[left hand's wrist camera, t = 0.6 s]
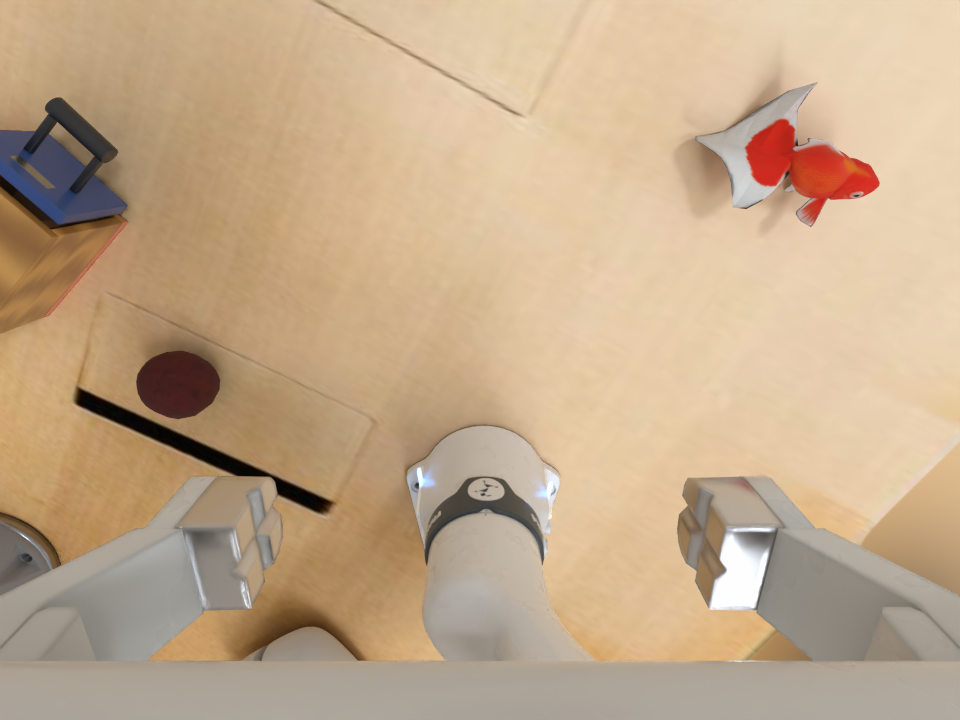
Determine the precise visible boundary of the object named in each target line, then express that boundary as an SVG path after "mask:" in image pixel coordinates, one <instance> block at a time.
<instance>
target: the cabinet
mask: <svg viewBox="0 0 960 720" xmlns="http://www.w3.org/2000/svg"><path fill="white" fill-rule="evenodd" d="M127 223H128V221H126V220H125V219H124V218H123V217H122V216H120V215H119V214H115V215H110V216H104V219H103V220H98V221H93V222H87V223H82V224H77V225H71V226H66V227H61V228H56V229H50V228H49V227H47V226H46V225H45V224H44V223H43V222H41V221H40V220H39V219H38V218H37V217H36V216H34V215H33V214H32V213H31V212H30V211H29V210H27V209H26V208H25V207H24V206H23V205H21V204H20V203H19V202H18V201H17V200H16V199H14V198H13V197H12V196H11V195H10V194H8V193H7V192H6V191H5V190H4V189H3V188H1V187H0V334H1V333H3V332H6V331H8V330H11V329H14V328H16V327H19V326H21V325H24V324H27V323H29V322H32V321H34V320H37V319H40V318H42V317H46V316H48V315H50V314H51V313H52V312H53V310H54V309H55V308H56V307H57V306H58V305H59V303H60V302H61V301H62V300H63V299H64V297H65V296H66V295H67V294H68V293H69V292H70V290H71V289H72V288H73V287H74V286H75V284H76V283H77V282H78V281H79V280H80V279H81V277H82V276H83V275H84V274H85V273H86V271H87V270H88V269H89V268H90V267H91V266H92V264H93V263H94V262H95V261H96V260H97V258H98V257H99V256H100V255H101V254H102V253H103V251H104V250H105V249H106V248H107V247H108V245H109V244H110V243H111V242H112V241H113V240H114V238H115V237H116V236H117V235H118V234H119V232H120V231H121V230H122V229H123V228H124V227H125V225H126V224H127Z"/></svg>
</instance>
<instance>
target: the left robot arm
mask: <svg viewBox="0 0 960 720" xmlns="http://www.w3.org/2000/svg"><path fill="white" fill-rule="evenodd" d="M407 483H408V487H409V491H410V495H411V499H412V503H413V507H414V510H415V514H416V518H417V522H418V526H419V530H420V534H421V537H422V541H423V545H424V549H425V561H426V565H427V572H426V580H425V588H424V596H423V605H422V618H423V623H424V627H425V630H426V632H427V634H428V636H429V638H430V640H431V642H432V643H433V645H434V646H435V648H436V649H437V651H438V652H439V653H440V655H441V656H442V657H443V658H444V659H445V660H446V661H147V660H148V659H149V658H150V657H151V656H153V655H154V654H155V653H156V652H157V651H159V650H160V649H161V648H162V647H163V646H165V645H166V644H167V643H168V642H169V641H171V640H172V639H173V638H174V637H175V636H177V635H178V634H179V633H180V632H181V631H183V630H184V629H185V628H186V627H187V626H189V625H190V624H191V623H192V622H193V621H195V620H196V619H197V618H198V617H199V616H201V615H202V614H203V611H207V610H241V609H251V608H252V606H253V604H254V602H255V600H256V598H257V596H258V594H259V592H260V590H261V588H262V586H263V584H264V582H265V579H264V573H263V571H264V570H265V569H266V568H268V567H269V566H271V565H272V564H274V562H275V560H276V558H277V555H278V553H279V550H280V546H281V541H282V519H281V514H280V513H279V512H278V511H277V510H276V509H275V508H274V507H273V506H272V505H273V503H274V501H275V499H276V498H277V496H278V495H277V490H276V486H275V481H274V480H273V479H272V478H271V477H241V476H220V477H219V476H195V477H191V478H189V479H188V480H187V481H186V482H185V483H184V484H183V486H182V487H181V488H180V489H179V490H178V491H177V492H176V493H175V494H174V496H173V497H172V498H171V499H170V500H169V501H168V502H167V503H166V505H165V506H164V507H163V508H162V509H161V510H160V511H159V512H158V513H157V515H156V516H155V517H154V518H153V519H152V520H151V521H150V522H149V524H148V525H147V526H146V527H145V528H144V529H134V530H132V531H130V532H128V533H126V534H124V535H122V536H120V537H118V538H116V539H114V540H112V541H110V542H108V543H106V544H104V545H102V546H99V547H97V548H95V549H93V550H91V551H89V552H87V553H85V554H83V555H81V556H79V557H77V558H75V559H73V560H71V561H69V562H67V563H65V564H63V565H61V566H59V567H57V568H55V569H53V570H51V571H49V572H47V573H45V574H43V575H41V576H39V577H37V578H35V579H33V580H31V581H29V582H27V583H25V584H23V585H21V586H19V587H17V588H15V589H13V590H11V591H9V592H7V593H5V594H3V595H1V596H0V720H960V596H959V595H957V594H955V593H953V592H951V591H949V590H947V589H945V588H943V587H941V586H939V585H937V584H935V583H933V582H931V581H929V580H927V579H925V578H923V577H921V576H919V575H917V574H915V573H913V572H911V571H909V570H907V569H905V568H903V567H901V566H899V565H897V564H895V563H893V562H891V561H889V560H887V559H885V558H883V557H880V556H879V555H876V554H874V553H872V552H870V551H868V550H866V549H864V548H862V547H860V546H858V545H856V544H854V543H852V542H850V541H848V540H846V539H844V538H842V537H840V536H838V535H836V534H834V533H832V532H830V531H828V530H826V529H816V528H815V527H814V526H813V525H812V524H811V522H810V521H809V520H808V519H807V518H806V517H805V516H804V515H803V514H802V512H801V511H800V510H799V509H798V508H797V507H796V506H795V505H794V503H793V502H792V501H791V500H790V499H789V498H788V497H787V496H786V494H785V493H784V492H783V491H782V490H781V489H780V488H779V487H778V486H777V484H776V483H775V482H774V481H773V480H772V479H771V478H769V477H767V476H739V477H707V478H687V480H686V482H685V484H684V490H683V495H682V496H683V498H684V499H685V501H686V503H687V505H688V506H687V507H686V508H685V509H684V510H683V511H682V512H681V513H680V514H679V520H678V527H677V531H678V543H679V546H680V550H681V553H682V556H683V558H684V560H685V562H686V564H688V565H689V566H691V567H692V568H694V569H695V570H696V571H697V573H696V579H695V582H696V584H697V586H698V588H699V590H700V592H701V594H702V596H703V598H704V600H705V602H706V604H707V606H708V608H709V609H717V610H753V611H757V614H759V615H760V616H761V617H762V618H763V619H765V620H766V621H767V622H768V623H769V624H770V625H772V626H773V627H774V628H775V629H776V630H778V631H779V632H780V633H781V634H782V635H784V636H785V637H786V638H787V639H788V640H790V641H791V642H792V643H793V644H794V645H796V646H797V647H798V648H799V649H801V650H802V651H803V652H804V653H805V654H806V655H808V656H809V657H810V658H811V659H812V660H814V661H597V660H596V659H594V658H593V657H592V656H591V655H590V654H589V653H588V652H587V651H586V650H585V649H584V648H583V647H582V646H581V645H580V644H579V643H578V642H577V641H576V640H575V639H574V638H573V637H572V636H571V634H570V633H569V632H568V631H567V629H566V628H565V627H564V626H563V624H562V623H561V621H560V620H559V618H558V617H557V615H556V613H555V611H554V609H553V607H552V604H551V601H550V597H549V594H548V590H547V586H546V582H545V578H544V573H543V568H542V565H543V560H544V557H545V556H546V553H547V539H545V538H544V537H543V534H546V535H549V534H550V531H551V523H550V522H548V519H551V517H552V506H553V503H554V500H555V498H556V495H557V492H558V489H559V486H560V474H559V473H558V472H557V471H556V470H555V469H554V468H552V467H551V466H549V465H548V464H546V463H544V462H543V461H542V460H541V459H540V458H539V456H538V455H537V453H536V452H535V450H534V449H533V448H532V446H531V445H530V444H529V443H528V442H527V441H526V440H524V439H523V438H522V437H520V436H519V435H517V434H515V433H513V432H511V431H509V430H506V429H503V428H500V427H495V426H473V427H468V428H464V429H461V430H458V431H456V432H454V433H452V434H450V435H448V436H447V437H445V438H444V439H443V440H442V441H440V442H439V443H438V444H437V446H436V447H435V448H434V449H433V450H432V452H431V453H430V454H429V455H428V457H427V458H425V459H424V460H422V461H420V462H418V463H416V464H415V465H413V466H412V467H410V468H409V469H408V471H407ZM416 483H419V485H416Z"/></svg>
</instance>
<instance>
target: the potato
mask: <svg viewBox="0 0 960 720" xmlns="http://www.w3.org/2000/svg"><path fill="white" fill-rule="evenodd" d="M136 383H137V390H138V394H139V396H140V398H141V400H142V402H143V403H144V404H145V405H146V406H147V407H148V408H150V409H151V410H153V411H155V412H157V413H159V414H162V415H164V416H166V417H170V418H175V419H181V418H186V417H191V416H195V415H197V414H198V413H199V412H201V411H202V410H204V409H205V408H206V407H208V406H209V405H210V404H212V402H213V401H214V399H215V397H216V395H217V393H218V391H219V388H220V379H219V376H218V374H217V372H216V370H215V369H214V368H213V367H212V365H211V364H210V363H208V362H207V361H205V360H203V359H202V358H200V357H199V356H197V355H195V354H191V353H188V352H184V351H176V352H166V353H163V354H160V355H158V356H156V357H153V358H152V359H150V360H149V361H148V362H146V364H145V365H144V366H143V367H142V368H141V370H140V371H139V373H138V376H137V381H136Z"/></svg>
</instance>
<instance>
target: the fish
mask: <svg viewBox="0 0 960 720" xmlns="http://www.w3.org/2000/svg"><path fill="white" fill-rule="evenodd" d="M817 83H818V82H817ZM817 83H814V84H810V85H807V86H803V87H800V88H796V89H793V90H790V91H787V92H786V93H784V94H782V95H781V96H779V97H777V98H776V99H774V100H772V101H771V102H769V103H767V104H766V105H764V106H762V107H761V108H759V109H758V110H756V111H755V112H753V113H752V114H751V115H749V116H748V117H746V118H745V119H743V120H742V121H740V122H739V123H737V124H736V125H734V126H732V127H731V128H729V129H728V130H726V131H723V132H718V133H714V134H710V135H705V136H696V139H695V140H697V141H698V142H700V143H701V144H703V145H705V146H706V147H708V148H709V149H710V150H712V151H713V152H714V153H716V154H717V155H718V156H720V157H721V158H722V160H723V162H724V164H725V166H726V167H727V170H728V173H729V177H730V181H731V188H732V201H733V207H734V208H743V209H747V208H749V207H751V206H753V205H755V204H756V203H758V202H760V201H762V200H763V199H765V198H766V197H767V196H768V195H769V194H771V193H772V192H773V191H774V190H775V189H776V187H777V186H778V185H779V184H780V183H781V182H782V181H783V180H784V179H785V178H786V176H787V175H788V174H789V172H790V179H791V184H790V185H789V186H788V187H787V188H786V189H785V191H786V192H789V191H794V190H796V191H797V192H798V193H799V194H801V195H803V196H805V197H809V198H811V199H810V200H809V201H808V202H807V203H805V204H804V205H803V206H802V207H801V208H800V209H799V210H797V211H796V215H797V217H798V218H799V220H800V221H802V222H803V223H805V224H807V225H809V226H810V227H811V226H812V225H813V224H814V223H815V221H816V219H817V217H818V215H819V213H820V212H821V209H822V207H823V206H824V204H825V202H826V200H827V198H829V199H831V200H836V199H854V198H859V197H863V196H865V195H867V194H869V193H871V192H872V191H874V190H875V189H876V188H877V187H878V186H879V184H880V183H879V180H878V178H877V176H876V175H875V173H874V171H873V169H872V167H871V166H870V165H869V164H866V163H863V162H861V161H859V160H857V159H854V158H849V157H848V156H847V155H846V154H844V153H843V152H841V151H839V150H838V149H837V148H836V147H835V146H834V145H833V144H832V143H830V142H827V141H824V140H819V139H811V138H808V143H806V144H804V145H800V146H798V141H797V133H796V125H797V110H798V108H799V107H800V105H801V104H802V102H803V101H804V99H805V98H806V96H807V95H808V93H809V92H810V91H811V90H812V89H813V87H814V86H815V85H816V84H817Z"/></svg>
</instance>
